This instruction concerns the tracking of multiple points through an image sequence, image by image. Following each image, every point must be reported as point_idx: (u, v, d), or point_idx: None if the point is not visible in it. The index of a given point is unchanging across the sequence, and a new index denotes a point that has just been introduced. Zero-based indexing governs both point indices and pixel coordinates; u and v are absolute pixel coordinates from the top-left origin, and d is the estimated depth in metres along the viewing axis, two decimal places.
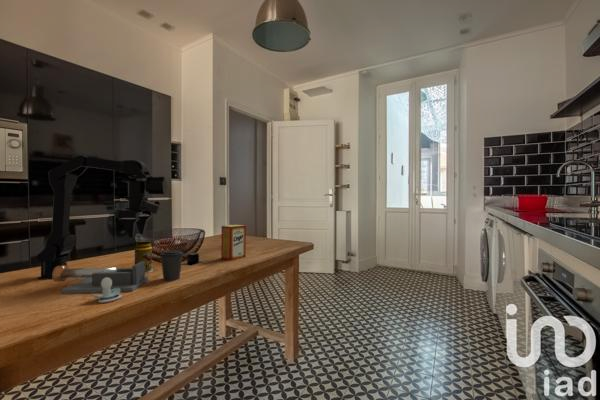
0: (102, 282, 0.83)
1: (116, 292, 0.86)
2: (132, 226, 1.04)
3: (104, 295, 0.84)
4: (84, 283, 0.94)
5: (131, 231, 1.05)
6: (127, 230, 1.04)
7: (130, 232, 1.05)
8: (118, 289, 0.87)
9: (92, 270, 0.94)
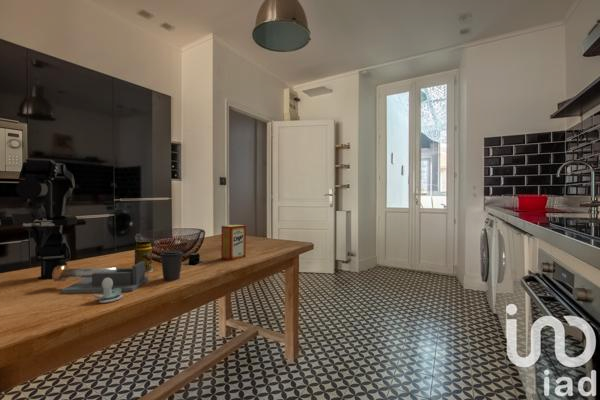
0: (103, 282, 0.83)
1: (117, 292, 0.86)
2: None
3: (105, 295, 0.83)
4: (84, 283, 0.94)
5: None
6: None
7: None
8: (119, 289, 0.87)
9: (92, 270, 0.94)
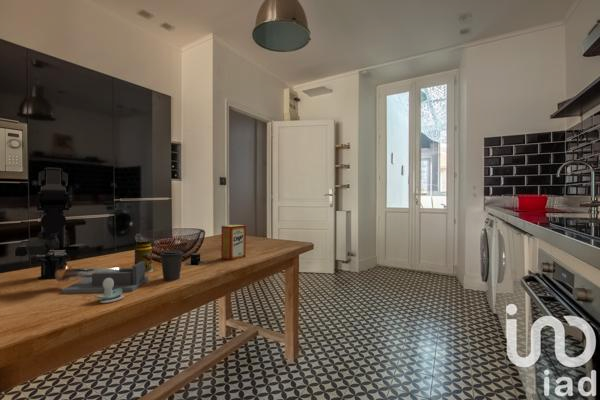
0: (104, 282, 0.83)
1: (118, 292, 0.86)
2: None
3: (106, 295, 0.83)
4: (84, 283, 0.94)
5: None
6: None
7: None
8: (120, 289, 0.87)
9: (95, 270, 0.94)
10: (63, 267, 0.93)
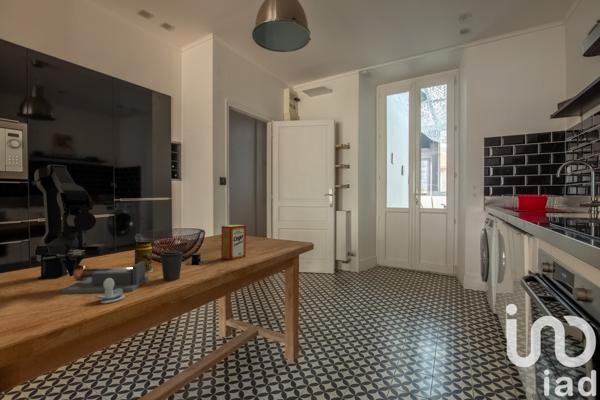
0: (104, 283, 0.83)
1: (118, 293, 0.85)
2: None
3: (106, 296, 0.83)
4: (84, 283, 0.94)
5: None
6: None
7: None
8: (120, 290, 0.87)
9: (112, 270, 0.95)
10: (81, 267, 0.94)
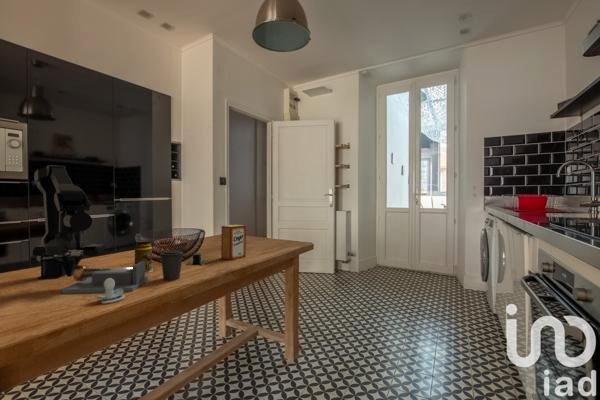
0: (105, 283, 0.83)
1: (119, 293, 0.85)
2: None
3: (107, 296, 0.83)
4: (84, 283, 0.94)
5: None
6: None
7: None
8: (121, 290, 0.87)
9: (112, 270, 0.95)
10: (81, 267, 0.94)
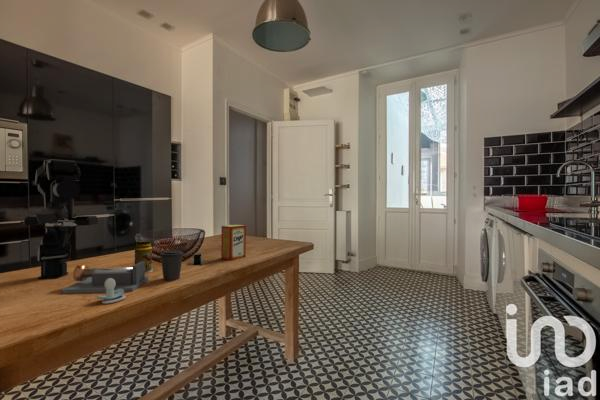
0: (106, 283, 0.83)
1: (120, 293, 0.85)
2: None
3: (108, 296, 0.83)
4: (84, 283, 0.94)
5: None
6: None
7: None
8: (122, 290, 0.86)
9: (112, 270, 0.95)
10: (81, 267, 0.94)
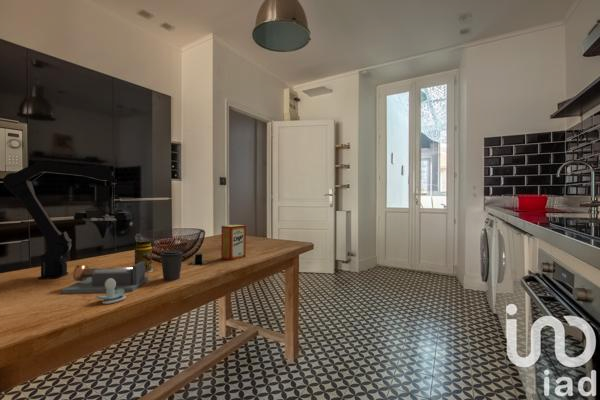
0: (106, 283, 0.83)
1: (120, 293, 0.85)
2: None
3: (108, 296, 0.83)
4: (84, 283, 0.94)
5: None
6: None
7: None
8: (122, 290, 0.86)
9: (112, 270, 0.95)
10: (81, 267, 0.94)
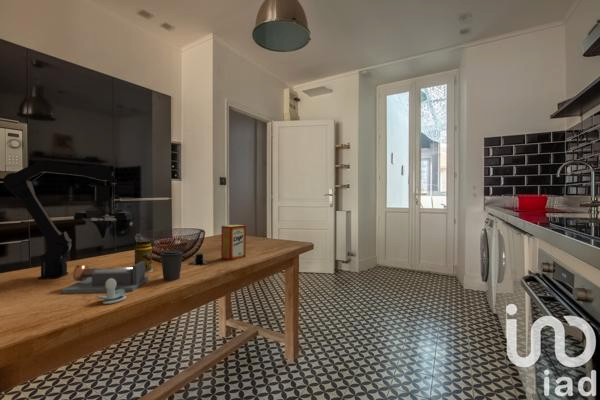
0: (106, 283, 0.82)
1: (120, 293, 0.85)
2: None
3: (108, 296, 0.83)
4: (84, 283, 0.94)
5: None
6: None
7: None
8: (122, 290, 0.86)
9: (112, 270, 0.95)
10: (81, 267, 0.94)
